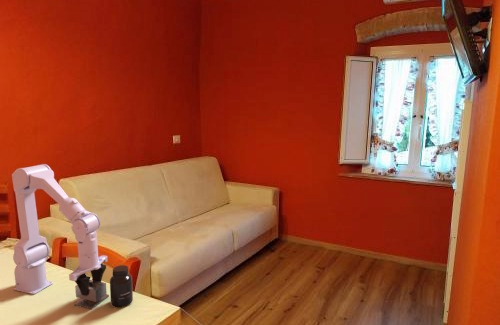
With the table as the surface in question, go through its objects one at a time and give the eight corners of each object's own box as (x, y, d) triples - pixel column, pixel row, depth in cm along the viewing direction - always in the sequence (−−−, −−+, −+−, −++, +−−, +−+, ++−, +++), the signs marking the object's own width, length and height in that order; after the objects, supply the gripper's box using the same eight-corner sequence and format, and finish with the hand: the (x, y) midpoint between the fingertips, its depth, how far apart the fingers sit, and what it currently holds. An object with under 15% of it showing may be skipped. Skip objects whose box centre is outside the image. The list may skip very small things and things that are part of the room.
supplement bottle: (125, 309, 110) (123, 274, 108) (106, 307, 111) (104, 272, 109) (137, 298, 116) (135, 264, 114) (118, 295, 118) (116, 262, 116)
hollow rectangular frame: (76, 297, 113) (75, 286, 113) (87, 289, 118) (86, 279, 117) (96, 301, 111) (95, 290, 110) (106, 294, 115) (105, 283, 115)
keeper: (73, 305, 112) (72, 292, 111) (92, 292, 119) (91, 280, 119) (91, 309, 110) (90, 296, 109) (108, 296, 117) (108, 283, 116)
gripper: (80, 263, 104) (84, 305, 106) (113, 244, 117) (116, 282, 120) (62, 259, 106) (65, 300, 108) (96, 242, 119) (99, 278, 122)
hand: (91, 290), depth 114 cm, fingers closed on hollow rectangular frame, 5 cm apart
